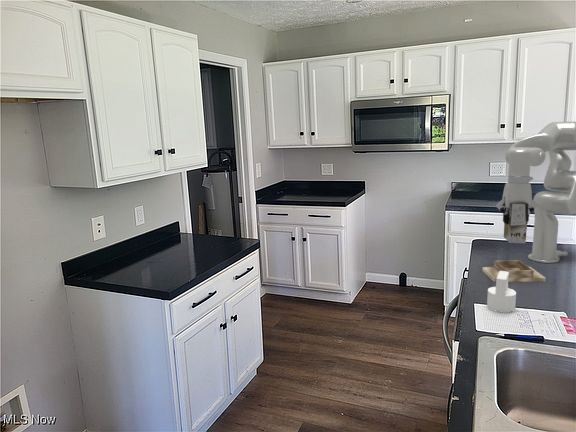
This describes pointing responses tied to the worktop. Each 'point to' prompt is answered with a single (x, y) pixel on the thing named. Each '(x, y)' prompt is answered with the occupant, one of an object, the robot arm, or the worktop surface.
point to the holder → (514, 271)
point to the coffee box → (516, 223)
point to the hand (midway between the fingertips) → (515, 223)
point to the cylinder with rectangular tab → (501, 294)
